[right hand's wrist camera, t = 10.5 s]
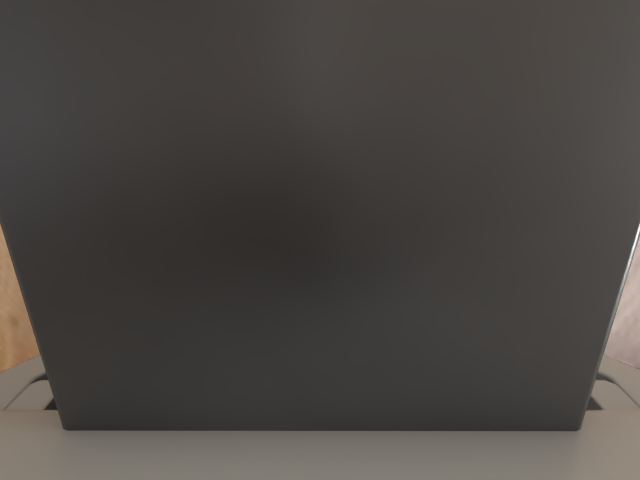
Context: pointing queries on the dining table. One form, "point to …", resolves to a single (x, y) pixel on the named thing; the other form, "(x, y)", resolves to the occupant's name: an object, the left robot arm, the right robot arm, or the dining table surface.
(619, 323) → the dining table surface
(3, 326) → the dining table surface
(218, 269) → the box
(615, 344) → the dining table surface
